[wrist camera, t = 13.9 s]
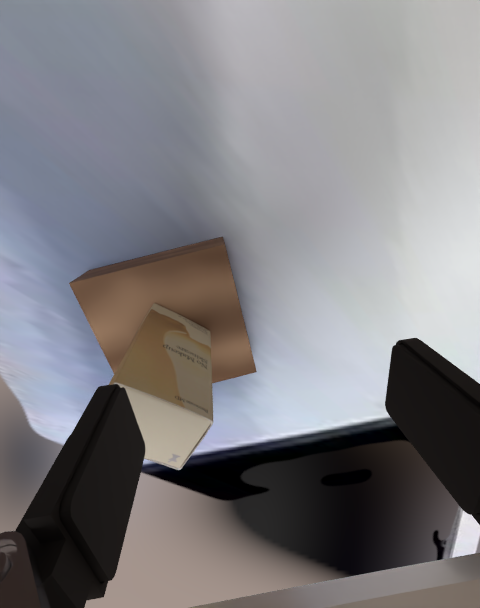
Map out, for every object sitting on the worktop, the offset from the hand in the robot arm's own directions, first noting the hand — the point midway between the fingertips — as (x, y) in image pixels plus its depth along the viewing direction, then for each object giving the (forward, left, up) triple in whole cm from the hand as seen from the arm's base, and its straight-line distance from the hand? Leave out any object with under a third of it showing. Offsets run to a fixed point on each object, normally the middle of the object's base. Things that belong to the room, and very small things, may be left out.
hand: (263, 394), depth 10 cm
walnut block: (+5, -6, -22) cm, 23 cm away
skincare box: (+5, -6, -17) cm, 19 cm away
